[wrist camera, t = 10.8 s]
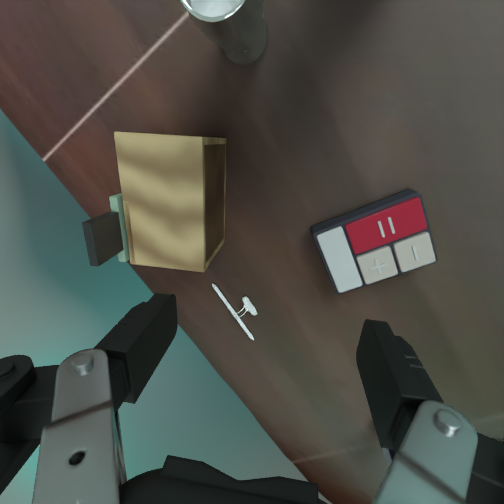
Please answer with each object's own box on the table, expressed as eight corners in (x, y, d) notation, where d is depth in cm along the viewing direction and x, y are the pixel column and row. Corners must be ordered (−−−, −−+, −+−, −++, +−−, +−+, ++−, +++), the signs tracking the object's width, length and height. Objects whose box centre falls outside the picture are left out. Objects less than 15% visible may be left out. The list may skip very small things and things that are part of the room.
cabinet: (147, 133, 40) (96, 130, 30) (226, 138, 39) (202, 137, 28) (156, 234, 47) (116, 262, 36) (224, 241, 45) (204, 272, 35)
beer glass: (207, 23, 34) (151, -57, 20) (257, -11, 32) (231, -124, 19) (232, 80, 36) (195, 43, 22) (280, 51, 34) (272, -8, 21)
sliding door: (152, 183, 42) (78, 205, 27) (158, 183, 42) (87, 206, 27) (157, 234, 45) (92, 279, 31) (162, 235, 45) (100, 280, 31)
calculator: (441, 263, 38) (337, 298, 41) (426, 252, 42) (332, 285, 45) (423, 191, 35) (312, 235, 38) (408, 187, 39) (309, 227, 42)
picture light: (211, 283, 49) (207, 289, 47) (230, 272, 47) (228, 278, 45) (252, 339, 52) (250, 347, 50) (271, 331, 51) (270, 338, 49)
